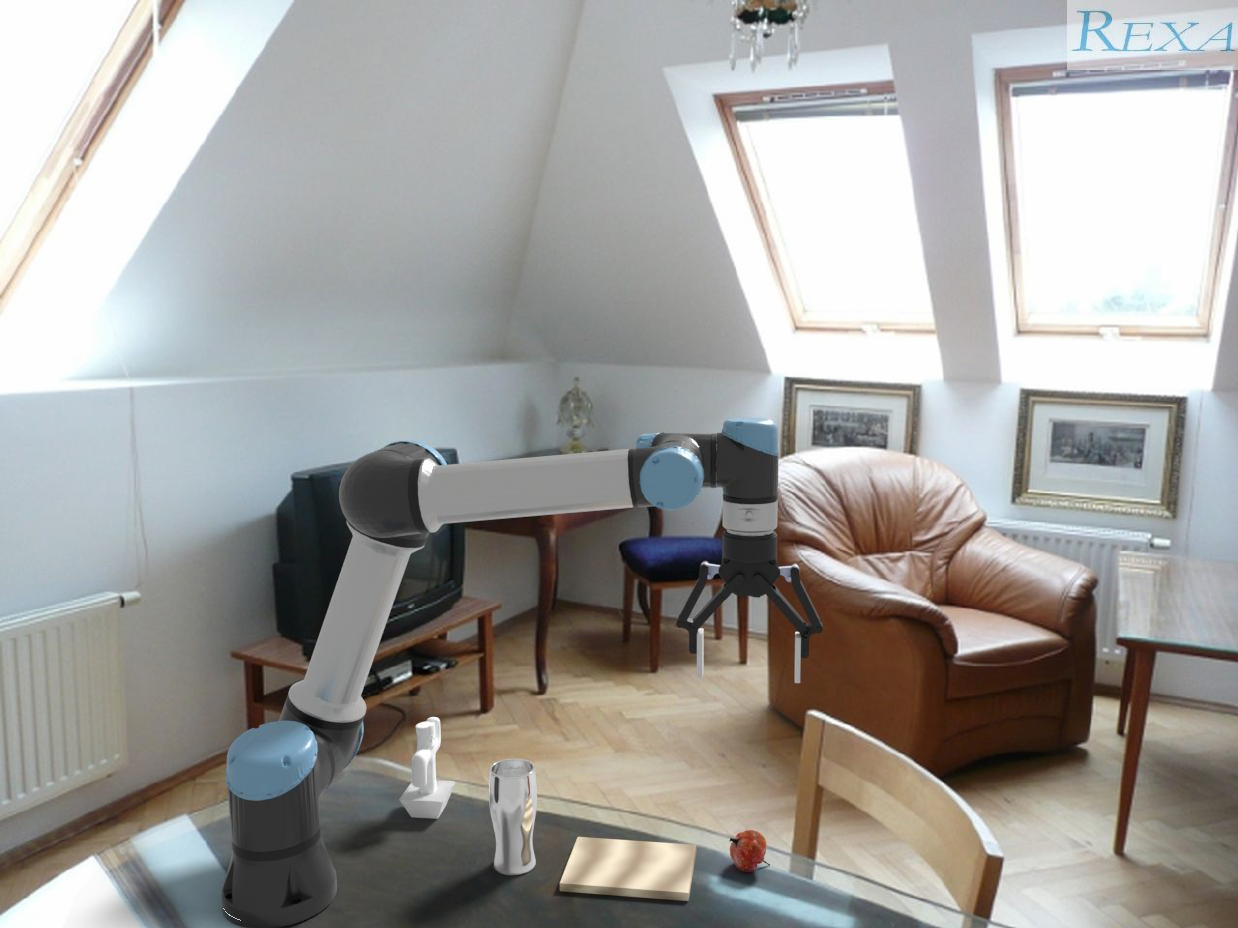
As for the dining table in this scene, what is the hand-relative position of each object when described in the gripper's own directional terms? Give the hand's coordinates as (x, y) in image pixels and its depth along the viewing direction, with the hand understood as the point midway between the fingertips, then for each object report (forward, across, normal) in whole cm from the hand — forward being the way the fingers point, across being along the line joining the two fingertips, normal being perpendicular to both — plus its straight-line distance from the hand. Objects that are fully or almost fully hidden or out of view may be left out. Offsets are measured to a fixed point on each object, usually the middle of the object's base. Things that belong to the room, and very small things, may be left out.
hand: (748, 677), depth 147 cm
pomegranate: (+29, 0, 0) cm, 29 cm away
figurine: (+29, -52, +10) cm, 60 cm away
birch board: (+29, -17, -4) cm, 33 cm away
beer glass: (+29, -34, -4) cm, 44 cm away
